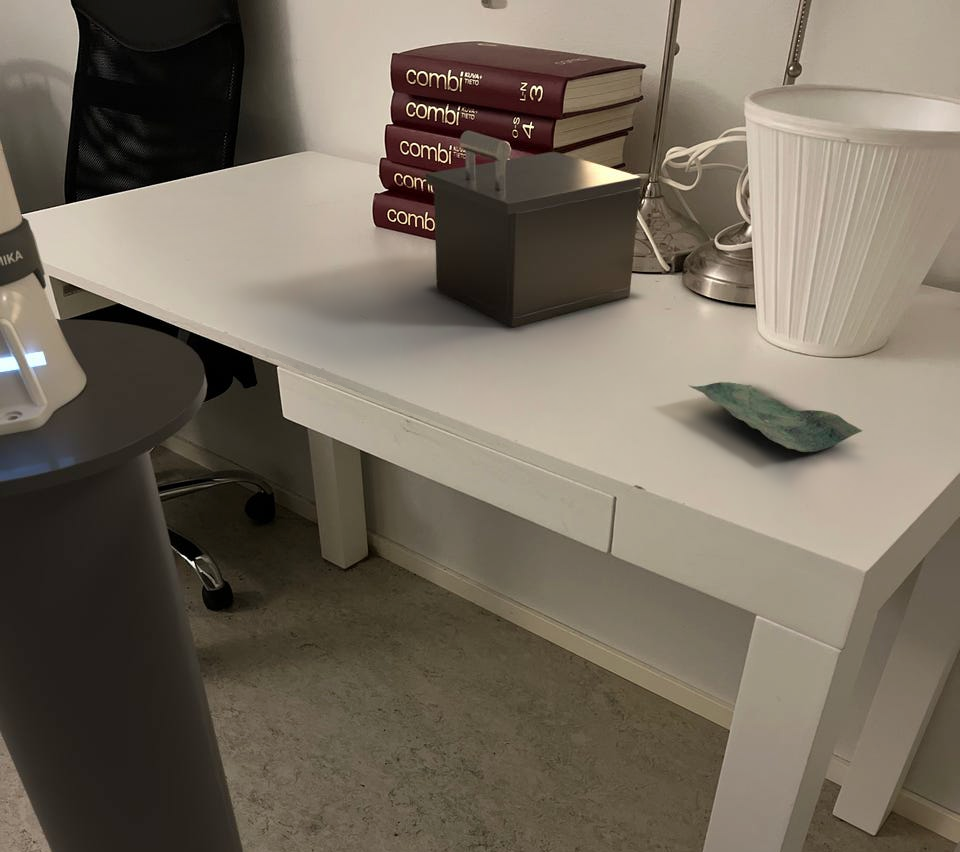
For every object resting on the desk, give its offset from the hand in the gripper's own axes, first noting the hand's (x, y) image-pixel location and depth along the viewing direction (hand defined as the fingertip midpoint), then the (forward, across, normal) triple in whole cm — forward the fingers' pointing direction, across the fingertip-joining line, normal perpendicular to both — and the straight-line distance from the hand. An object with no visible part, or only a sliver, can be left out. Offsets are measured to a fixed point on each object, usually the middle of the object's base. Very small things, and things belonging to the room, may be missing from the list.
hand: (462, 3), depth 85 cm
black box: (+27, 0, +9) cm, 29 cm away
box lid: (+16, 0, +8) cm, 18 cm away
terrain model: (+27, +37, +5) cm, 46 cm away
